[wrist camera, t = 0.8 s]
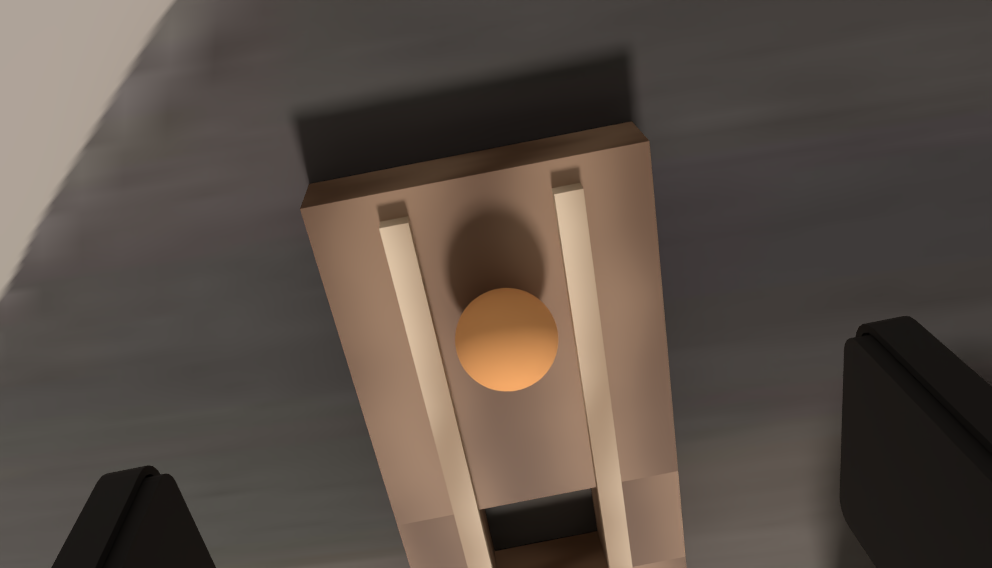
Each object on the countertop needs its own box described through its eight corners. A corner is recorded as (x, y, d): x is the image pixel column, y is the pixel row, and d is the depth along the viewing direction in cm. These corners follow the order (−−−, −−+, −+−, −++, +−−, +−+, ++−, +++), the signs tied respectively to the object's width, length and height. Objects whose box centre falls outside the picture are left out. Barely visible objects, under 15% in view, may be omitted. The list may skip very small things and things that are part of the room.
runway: (631, 121, 29) (653, 146, 26) (676, 583, 40) (695, 635, 37) (309, 184, 29) (297, 215, 26) (441, 629, 40) (443, 684, 37)
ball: (542, 262, 29) (558, 309, 25) (556, 346, 30) (572, 401, 27) (444, 281, 29) (447, 331, 25) (463, 364, 30) (468, 421, 27)
